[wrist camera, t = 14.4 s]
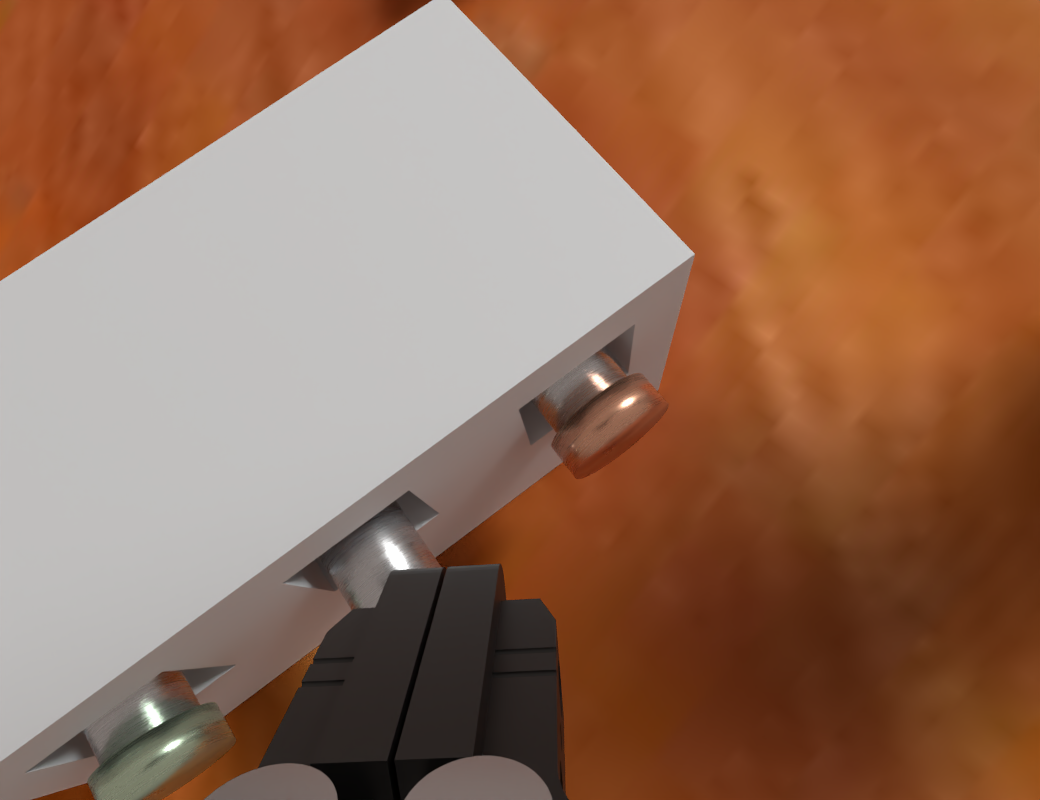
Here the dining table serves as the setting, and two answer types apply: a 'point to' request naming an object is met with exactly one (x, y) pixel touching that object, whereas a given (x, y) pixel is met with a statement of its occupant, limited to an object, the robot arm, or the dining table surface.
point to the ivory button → (375, 556)
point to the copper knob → (598, 413)
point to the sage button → (156, 741)
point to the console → (296, 373)
